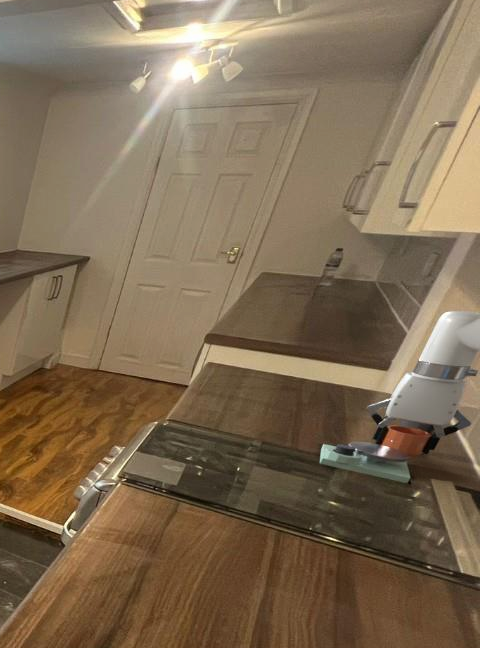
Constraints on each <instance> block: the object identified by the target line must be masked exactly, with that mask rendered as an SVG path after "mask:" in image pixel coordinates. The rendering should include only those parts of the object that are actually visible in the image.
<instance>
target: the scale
mask: <svg viewBox="0 0 480 648" xmlns="http://www.w3.org/2000/svg"><path fill="white" fill-rule="evenodd" d="M336 447H337V446H334V445H330V444H325V443H323V444H322V446H321V449H320V456H319V464H320V465H324V466H328V467H334V468H338V469H341V470H347V471H351V472H356V473H360V474H364V475H369V476H373V477H377V478H382V479H387V480H392V481H396V482H400V483H404V484H409V482H410V480H411V474H410V470H409V467H408V463H407V461H406V462H389V461H386V463H385V464H380V463H373V462H370V461H366V460H364V459H362V455H360V454H357V453H355V452H354V453H353V455H352V456H347V455H342V454H339V453H336V452H334V451H335V449H336Z"/></svg>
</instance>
